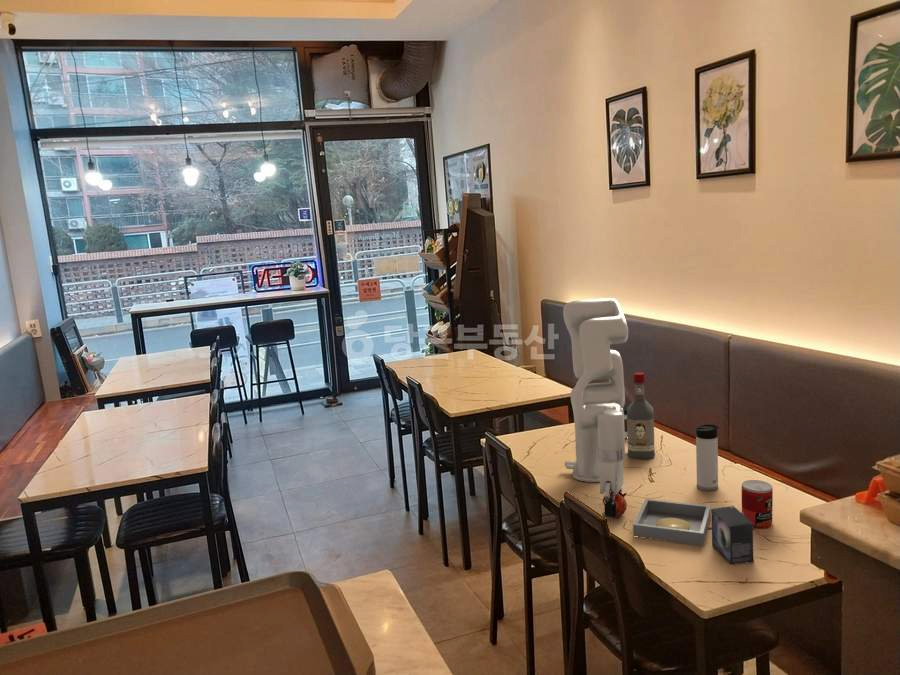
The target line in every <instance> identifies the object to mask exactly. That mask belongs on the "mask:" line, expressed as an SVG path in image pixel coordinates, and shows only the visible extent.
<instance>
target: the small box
mask: <svg viewBox="0 0 900 675" xmlns="http://www.w3.org/2000/svg"><path fill="white" fill-rule="evenodd" d="M710 519H711V546H712V547H713V548H714V549H715V550H716V551H717V552H718V553H719V554H720V555H721V556H722V558H724V559H725V561H727V562H728V564H729V565H736V564H735V563H740V564H746V562H748V563H753V562H754V561H755V560H754V528H753V522H751V521H750V520H749V519H748V518H747V517H745V516H744V515H743V514H742V511H740V510H739V509H737V508H736V507H735V506H733V505H731V506H722V507H721V506H720V507H716V508H711V518H710Z"/></svg>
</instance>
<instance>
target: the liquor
mask: <svg viewBox="0 0 900 675" xmlns="http://www.w3.org/2000/svg"><path fill="white" fill-rule="evenodd" d="M645 374H646V373H644V372H634V373H633V383H634V392H635V393H634V394H635V397H634V400H633V401H632V402H631V403H629V407H628V409H627V437H628V439H627V455H628V457H629V458H631V457H632V459H634V460H635V458H636V460H650V459H653V458H654V457H655V456H656V455H655V454H656V452H655V450H656V449H655V447H656V446H655V418H654V417H655V415H654V414H655V412H654V407H653V406H652V405H651V404H650V403H649V402H648V401H647V400H646V396H645V383H646V382H645V380H646V379H645V378H646V377H645Z"/></svg>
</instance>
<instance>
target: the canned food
mask: <svg viewBox="0 0 900 675" xmlns="http://www.w3.org/2000/svg"><path fill="white" fill-rule="evenodd" d="M773 499H774V498H773V485H772V484H771V483H769V482H768V481H763V480H759V479H750V480H749V479H748V480H744V481H743V482H742V483H741V513H742V514H743V515H744V516H745V517H747V518H748V519H749V520H750V521H751V522H753V529H757V530H758V529H760V530H761V529H763V528H764V529H767V528H768V529H769V528H770V527H771V526H772V524H773V506H774V505H773V501H774V500H773Z"/></svg>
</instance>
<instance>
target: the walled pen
mask: <svg viewBox="0 0 900 675" xmlns="http://www.w3.org/2000/svg"><path fill="white" fill-rule="evenodd" d="M711 506H712V505H707V504H706V505H705V504H700V503H699V504H698V503H696V504H695V503H689V502H688V503H687V502H681V501H679V502H678V501H670V500H662V499H661V500H660V499H650V498H645V499H644V501H643V503H642V505H641V507H640V510H639V512H638V513H637V515H636V518H635V520H634V521H633V524H632V526H633V528H632V530H633V534H632V535H633V536H638V537H637V538H640V537H645V538H644V539H647V538H652V539H651V540H655V539H657V540H656V541H662V540H663V541H664V540H665V541H664V542H670V541H671V543H677V542H678V544H685V543H686V545H692V544H693V546H699V547H701V546H702V547H704V545H705V541H706V537H707V533H708V529H709V526H710V522H711V519H712V518H711V509H712V508H711ZM633 536H632V537H633ZM658 539H659V540H658Z"/></svg>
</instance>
